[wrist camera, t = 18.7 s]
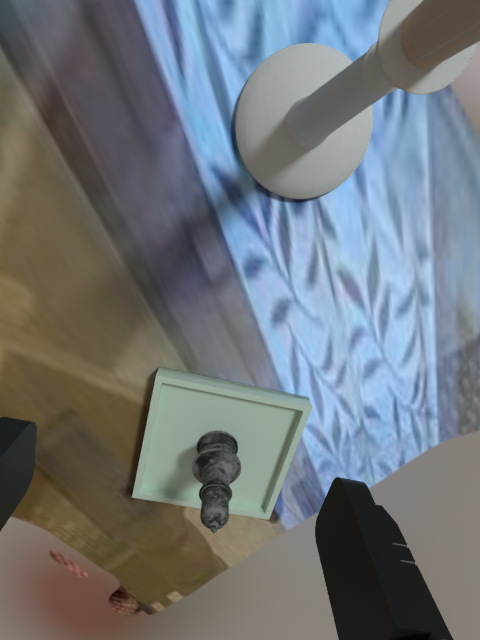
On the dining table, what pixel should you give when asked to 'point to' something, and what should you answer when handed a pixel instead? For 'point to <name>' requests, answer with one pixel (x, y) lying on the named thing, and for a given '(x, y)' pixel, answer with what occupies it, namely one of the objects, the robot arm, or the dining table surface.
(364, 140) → the candlestick
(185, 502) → the tray
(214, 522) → the dark grey chess piece
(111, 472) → the dining table surface
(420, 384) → the dining table surface
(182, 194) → the dining table surface
